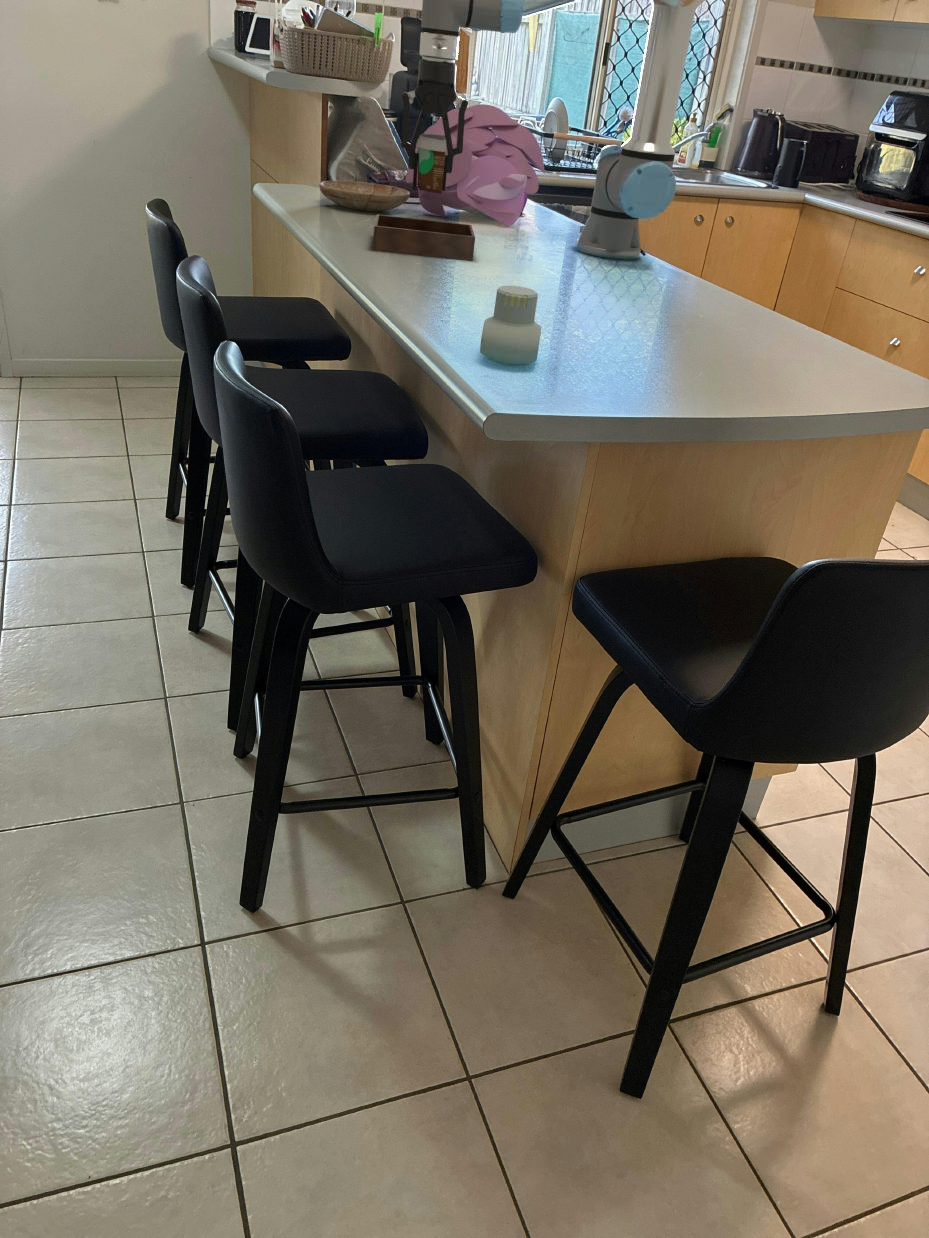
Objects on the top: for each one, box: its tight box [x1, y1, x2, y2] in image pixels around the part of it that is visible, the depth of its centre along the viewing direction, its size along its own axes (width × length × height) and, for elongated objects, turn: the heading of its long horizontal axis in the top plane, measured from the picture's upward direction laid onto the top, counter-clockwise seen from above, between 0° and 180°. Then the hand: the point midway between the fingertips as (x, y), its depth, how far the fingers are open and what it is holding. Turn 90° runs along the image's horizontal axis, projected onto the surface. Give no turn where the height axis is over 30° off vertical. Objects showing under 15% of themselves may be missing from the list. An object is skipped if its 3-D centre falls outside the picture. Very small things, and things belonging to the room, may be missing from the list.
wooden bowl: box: [318, 179, 410, 212], centre depth 237 cm, size 23×24×5 cm
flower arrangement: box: [405, 103, 546, 228], centre depth 238 cm, size 35×24×28 cm
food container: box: [416, 133, 446, 194], centre depth 191 cm, size 12×6×10 cm, turn 2°
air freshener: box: [479, 285, 542, 366], centre depth 132 cm, size 11×8×10 cm
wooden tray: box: [372, 213, 476, 262], centre depth 198 cm, size 21×15×5 cm
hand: (428, 188), depth 193 cm, fingers closed on food container, 5 cm apart
